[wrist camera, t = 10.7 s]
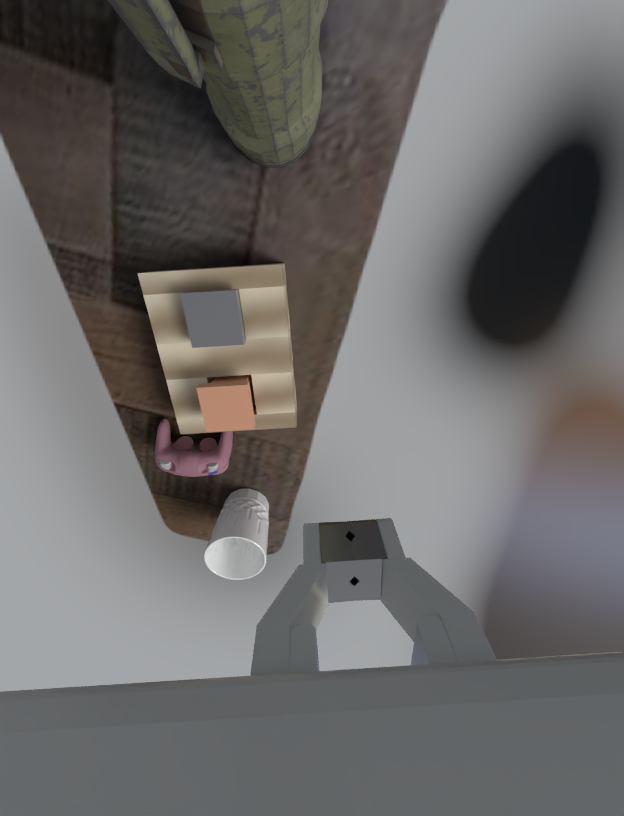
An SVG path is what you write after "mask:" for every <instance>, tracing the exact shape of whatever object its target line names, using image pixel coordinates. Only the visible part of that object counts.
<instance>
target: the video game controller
mask: <svg viewBox="0 0 624 816" xmlns="http://www.w3.org/2000/svg"><path fill="white" fill-rule="evenodd" d="M232 441H233V431H227V432H222V433H221V438H220V442H219V445H217V443H216V441H215V439H213V438H205V439H203V440H202V441H201V442H200V450H201V452H192V450H193V448H194V443H193V440H192V438H190V437H188V436H183V437H181V438H179V439H178V440H177V441H176V442H175V443H174V444H172V442H171V436H170V424H169V421H168V420H167V419H163V420H162V421H161V422H160V424H159V426H158V431H157V437H156V446H155V461H156V463H157V465H158V467H159V468H160V469H161V470H163V471H166V472H169V473H172V474H175V475H180V476H188V477H198V476H206V475H217V474H221V473H222V472H224V471H225V470H226V469H227V467H228V465H229V458H230V455H231V450H232Z"/></svg>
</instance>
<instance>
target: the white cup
mask: <svg viewBox="0 0 624 816" xmlns="http://www.w3.org/2000/svg"><path fill="white" fill-rule="evenodd" d="M268 509H269V504H268V501H267V499H266V497H265V496H264V495H263V494H261V493H260V492H259V491H256V490H253V489H250V488H247V489H238V490H236V491H234V492H232V493H231V494H230V495H229V496H228V497H227V499H226V501H225V503H224V506H223V509H222V510H221V512H220V515H219V517H218V520H217V522H216V524H215V527H214V530H213V532H212V535H211V537H210V540H209V543H208V546H207V548H206V550H205V554H204V559H205V563H206V565H207V566H208V568H209V569H210V570H211V571H212V572H214V573H215V574H217V575H218V576H221V577H223V578H227V579H233V580H242V579H248V578H251V577H253V576H255V575H257V574H258V573H260V572H261V571H262V570H263V568H264V567H265V564H266V556H267V542H268V521H269V520H268Z"/></svg>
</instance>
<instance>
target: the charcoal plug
mask: <svg viewBox="0 0 624 816" xmlns="http://www.w3.org/2000/svg"><path fill="white" fill-rule="evenodd" d="M180 295H181V299H182V304H183V308H184V313H185V317H186V322H187V326H188V331H189V336H190V340H191V345H192V348H200V347H215V346H231V345H244V344H245V342H246V340H245V333H244V322H243V315H242V308H241V302H240V295H239V290H238V289H226V290H210V291H194V292H183V293H180Z"/></svg>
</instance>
